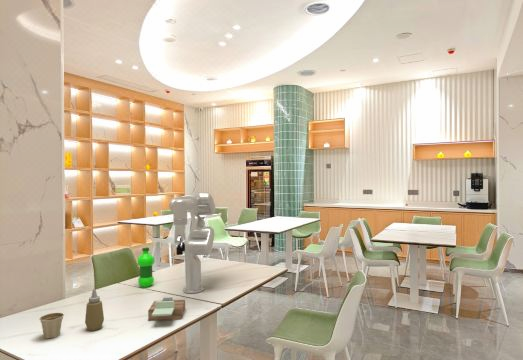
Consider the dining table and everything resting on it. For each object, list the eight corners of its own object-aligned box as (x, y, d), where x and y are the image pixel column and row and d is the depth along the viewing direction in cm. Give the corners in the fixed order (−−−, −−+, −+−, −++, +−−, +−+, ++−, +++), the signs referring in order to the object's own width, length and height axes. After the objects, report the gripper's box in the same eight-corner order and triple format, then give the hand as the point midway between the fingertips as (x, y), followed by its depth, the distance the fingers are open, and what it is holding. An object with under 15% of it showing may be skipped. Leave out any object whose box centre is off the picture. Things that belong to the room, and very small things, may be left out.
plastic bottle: (156, 284, 235) (156, 246, 235) (150, 288, 224) (149, 249, 225) (142, 283, 236) (141, 246, 236) (135, 288, 225) (134, 249, 226)
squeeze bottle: (83, 333, 159) (82, 293, 159) (87, 326, 166) (86, 287, 167) (102, 330, 161) (102, 291, 161) (105, 323, 169) (105, 286, 169)
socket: (154, 310, 186) (154, 300, 186) (185, 308, 187) (185, 299, 187) (148, 320, 172) (148, 310, 172) (181, 319, 173) (181, 308, 173)
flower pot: (68, 331, 161) (68, 312, 161) (57, 340, 152) (56, 320, 152) (47, 331, 161) (47, 312, 161) (34, 340, 151) (34, 320, 151)
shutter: (155, 309, 173) (155, 301, 173) (174, 308, 173) (174, 300, 173) (151, 316, 164) (151, 308, 164) (171, 315, 164) (171, 307, 164)
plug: (163, 313, 181) (163, 297, 181) (172, 312, 182) (172, 297, 182) (162, 316, 177) (162, 300, 177) (171, 316, 177) (171, 300, 177)
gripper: (175, 220, 203) (176, 250, 203) (170, 224, 186) (171, 256, 186) (189, 220, 204) (189, 249, 204) (185, 223, 187) (185, 255, 187)
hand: (180, 252), depth 195 cm, fingers open, 9 cm apart
